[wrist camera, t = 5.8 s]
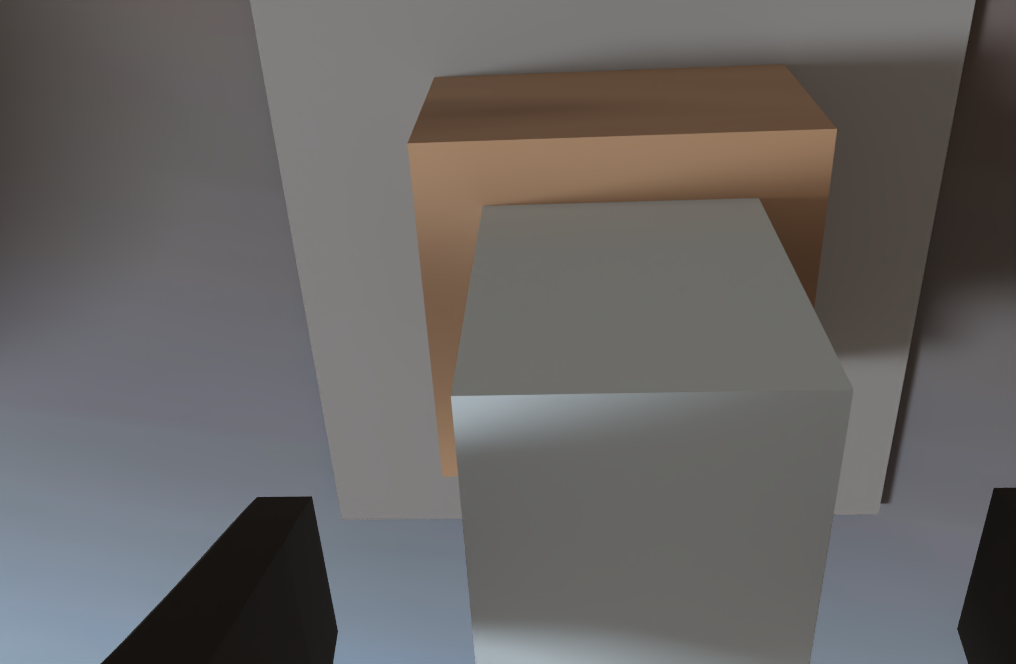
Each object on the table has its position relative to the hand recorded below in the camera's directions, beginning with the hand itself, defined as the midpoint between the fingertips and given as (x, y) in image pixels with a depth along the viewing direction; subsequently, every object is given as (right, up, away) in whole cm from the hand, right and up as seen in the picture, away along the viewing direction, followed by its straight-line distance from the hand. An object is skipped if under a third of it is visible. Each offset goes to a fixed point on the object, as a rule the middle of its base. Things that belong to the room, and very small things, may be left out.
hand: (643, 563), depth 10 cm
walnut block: (0, +4, +8) cm, 9 cm away
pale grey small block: (0, +3, +5) cm, 5 cm away
